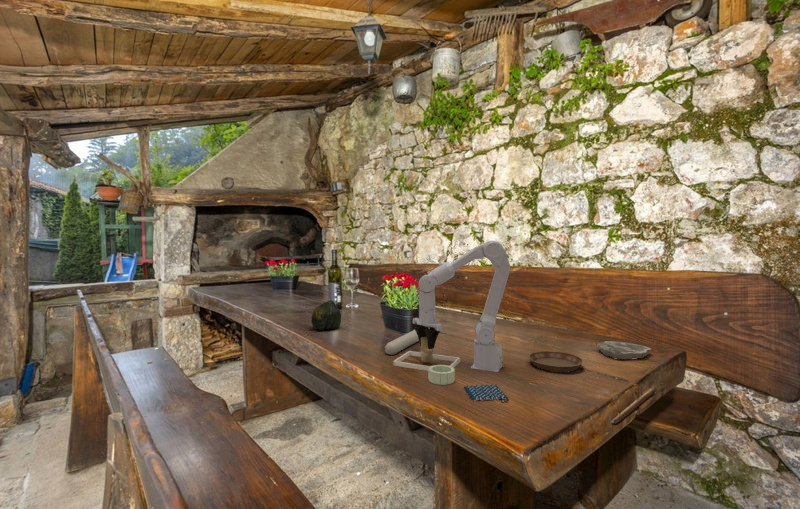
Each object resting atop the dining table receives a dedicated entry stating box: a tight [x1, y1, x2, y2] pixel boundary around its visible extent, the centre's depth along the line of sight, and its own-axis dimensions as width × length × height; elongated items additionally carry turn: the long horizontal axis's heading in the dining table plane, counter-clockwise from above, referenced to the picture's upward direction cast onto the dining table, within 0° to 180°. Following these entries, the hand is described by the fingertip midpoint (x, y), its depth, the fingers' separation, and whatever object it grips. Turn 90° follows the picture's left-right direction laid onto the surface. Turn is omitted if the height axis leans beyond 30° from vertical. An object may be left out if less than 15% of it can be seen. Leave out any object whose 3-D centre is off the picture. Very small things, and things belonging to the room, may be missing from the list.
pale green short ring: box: [427, 364, 456, 386], centre depth 121 cm, size 8×8×4 cm
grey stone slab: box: [595, 340, 652, 360], centre depth 151 cm, size 20×17×3 cm
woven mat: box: [463, 384, 510, 404], centre depth 110 cm, size 10×11×2 cm
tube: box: [384, 329, 419, 356], centre depth 160 cm, size 5×5×25 cm
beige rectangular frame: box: [392, 350, 461, 372], centre depth 137 cm, size 20×14×2 cm
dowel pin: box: [420, 337, 434, 363], centre depth 137 cm, size 4×4×8 cm
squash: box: [311, 300, 342, 331], centre depth 193 cm, size 14×15×15 cm
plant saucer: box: [528, 350, 584, 373], centre depth 137 cm, size 18×18×3 cm
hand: (427, 347), depth 137 cm, fingers closed on dowel pin, 4 cm apart
